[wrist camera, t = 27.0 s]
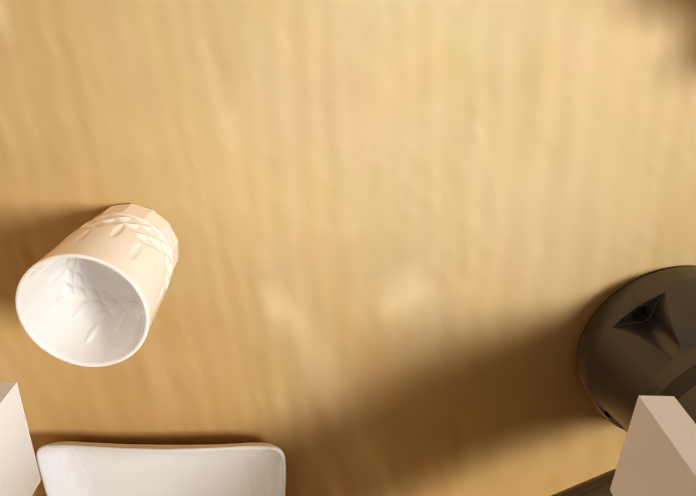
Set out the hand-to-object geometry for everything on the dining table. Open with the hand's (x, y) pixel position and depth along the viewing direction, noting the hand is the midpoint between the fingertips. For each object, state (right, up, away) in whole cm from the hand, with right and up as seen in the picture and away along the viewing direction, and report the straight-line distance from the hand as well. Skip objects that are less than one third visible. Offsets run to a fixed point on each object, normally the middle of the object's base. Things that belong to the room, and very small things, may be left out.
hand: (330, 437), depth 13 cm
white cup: (-16, +5, +32) cm, 36 cm away
